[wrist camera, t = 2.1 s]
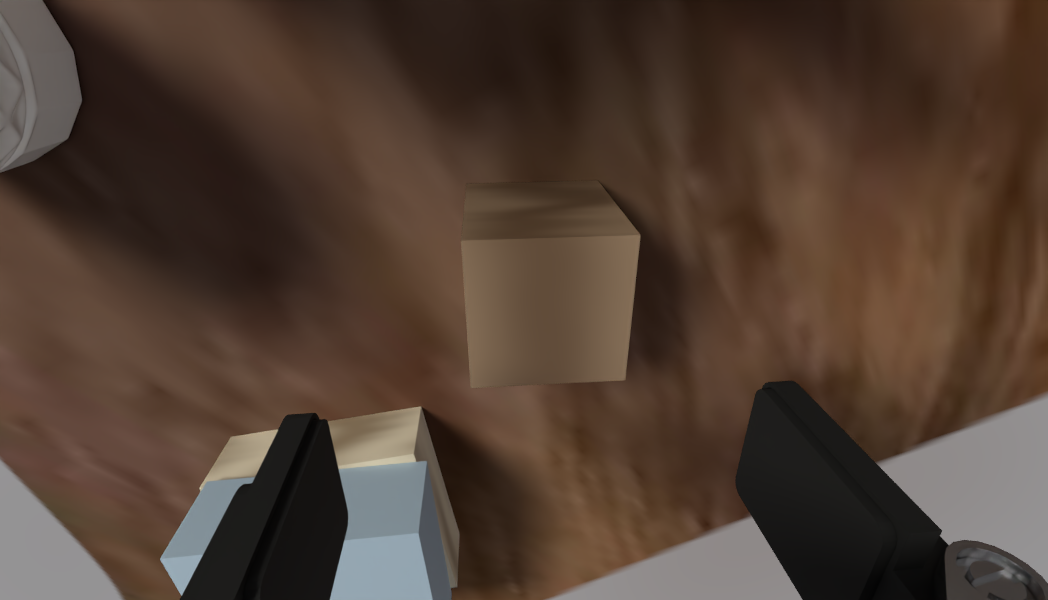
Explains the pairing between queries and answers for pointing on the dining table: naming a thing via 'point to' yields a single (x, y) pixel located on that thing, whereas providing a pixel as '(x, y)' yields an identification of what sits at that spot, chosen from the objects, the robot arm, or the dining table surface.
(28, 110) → the white cup
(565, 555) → the dining table surface
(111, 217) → the dining table surface
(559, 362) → the walnut block
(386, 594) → the tower top block
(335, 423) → the tower base block
